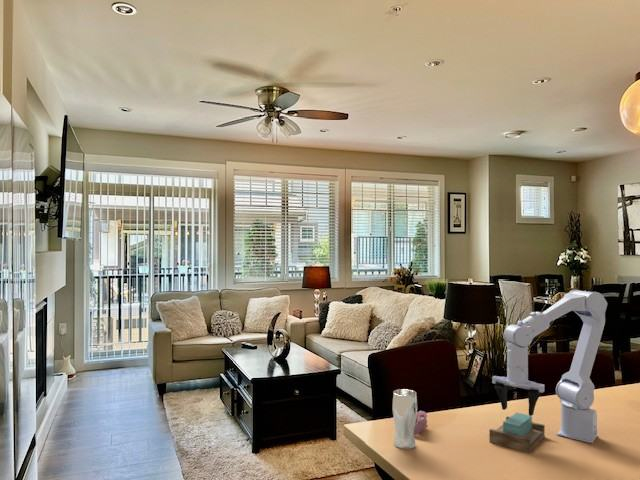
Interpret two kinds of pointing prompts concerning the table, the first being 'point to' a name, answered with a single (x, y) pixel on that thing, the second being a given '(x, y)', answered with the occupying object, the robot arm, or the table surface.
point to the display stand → (518, 437)
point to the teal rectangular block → (518, 424)
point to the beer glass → (404, 417)
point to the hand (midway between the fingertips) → (517, 411)
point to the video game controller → (420, 422)
